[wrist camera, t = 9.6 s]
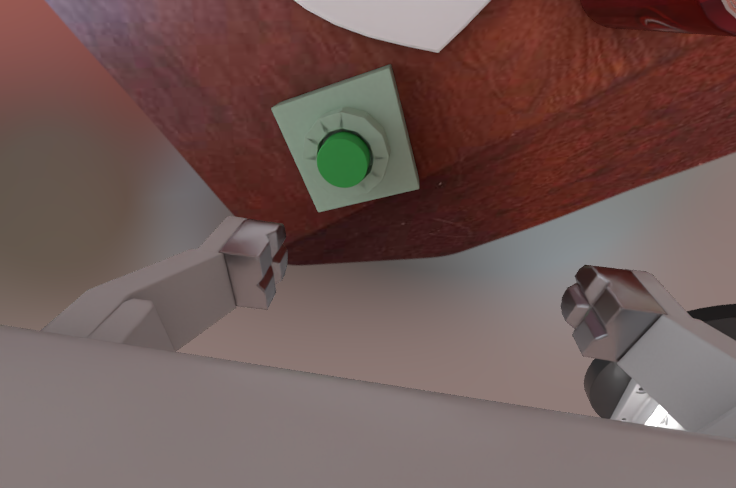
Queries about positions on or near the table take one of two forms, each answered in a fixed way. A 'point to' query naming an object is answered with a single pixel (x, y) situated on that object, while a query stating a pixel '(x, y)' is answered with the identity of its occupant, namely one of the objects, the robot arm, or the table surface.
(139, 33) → the table surface
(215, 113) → the table surface
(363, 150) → the button
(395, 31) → the plate
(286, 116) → the block
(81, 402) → the robot arm
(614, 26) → the soda can
